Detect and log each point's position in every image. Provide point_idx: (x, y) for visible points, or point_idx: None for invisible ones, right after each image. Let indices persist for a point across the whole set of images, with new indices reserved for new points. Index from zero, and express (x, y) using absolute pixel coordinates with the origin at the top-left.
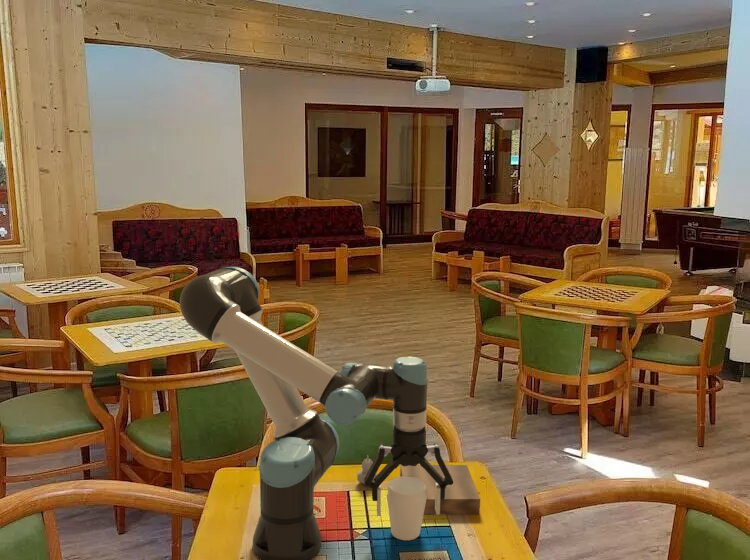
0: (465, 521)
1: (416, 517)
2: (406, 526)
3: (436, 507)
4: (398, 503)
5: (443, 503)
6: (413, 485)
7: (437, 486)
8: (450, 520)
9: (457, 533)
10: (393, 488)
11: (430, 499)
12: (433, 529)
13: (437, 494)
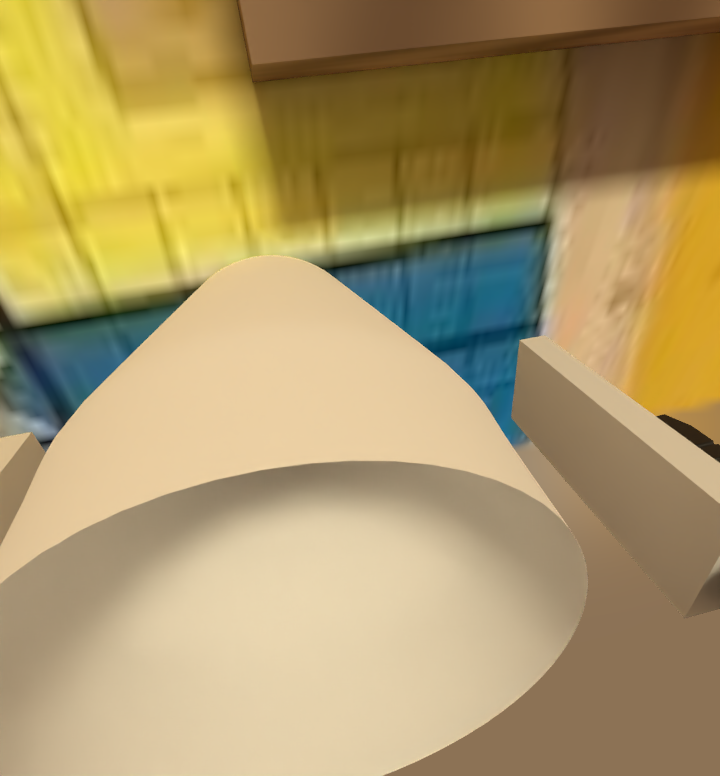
0: (657, 151)
1: (370, 513)
2: (296, 487)
3: (541, 440)
4: (232, 681)
5: (609, 34)
6: (383, 355)
7: (712, 582)
8: (570, 148)
9: (564, 297)
10: (61, 429)
11: (512, 39)
12: (443, 278)
13: (631, 550)
